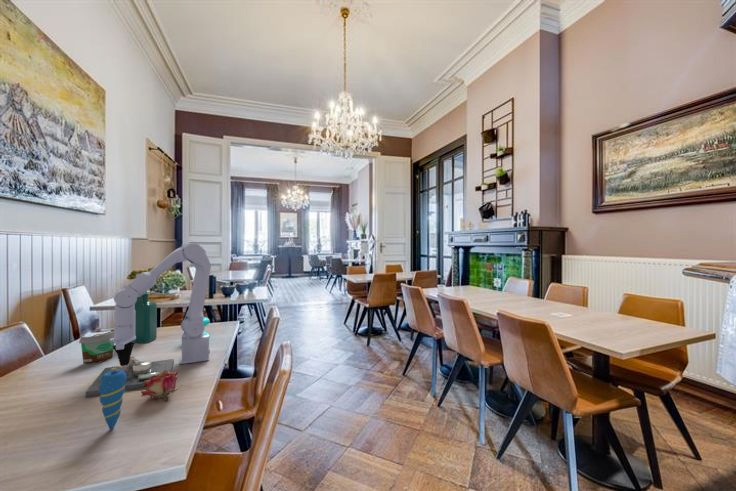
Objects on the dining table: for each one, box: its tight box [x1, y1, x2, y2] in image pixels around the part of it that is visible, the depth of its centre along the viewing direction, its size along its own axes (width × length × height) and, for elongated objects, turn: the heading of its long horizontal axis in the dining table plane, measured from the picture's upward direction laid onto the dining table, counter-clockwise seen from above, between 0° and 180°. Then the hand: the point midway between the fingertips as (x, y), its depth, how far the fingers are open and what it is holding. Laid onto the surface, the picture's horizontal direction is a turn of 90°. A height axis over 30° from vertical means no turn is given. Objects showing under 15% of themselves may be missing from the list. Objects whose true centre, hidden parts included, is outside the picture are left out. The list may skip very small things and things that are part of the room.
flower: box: [140, 370, 183, 402], centre depth 91 cm, size 10×9×8 cm
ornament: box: [98, 365, 127, 430], centre depth 76 cm, size 5×5×15 cm
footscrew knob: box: [128, 356, 152, 376], centre depth 107 cm, size 14×5×3 cm, turn 52°
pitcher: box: [131, 291, 158, 344], centre depth 145 cm, size 10×8×22 cm
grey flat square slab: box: [84, 358, 175, 398], centre depth 105 cm, size 20×20×3 cm
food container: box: [78, 328, 115, 365], centre depth 121 cm, size 12×6×10 cm, turn 168°
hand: (124, 365), depth 109 cm, fingers closed
